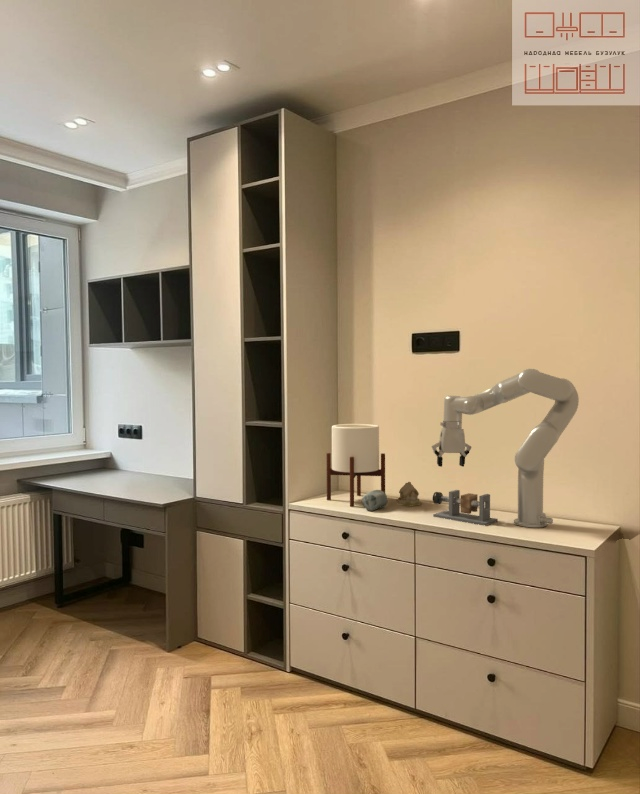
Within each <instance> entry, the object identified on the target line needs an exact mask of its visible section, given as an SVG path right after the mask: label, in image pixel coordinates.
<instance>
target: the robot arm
mask: <svg viewBox="0 0 640 794" xmlns="http://www.w3.org/2000/svg"><path fill="white" fill-rule="evenodd" d="M529 393H532V394H535V395H538V396H541V397H544V398H547V399H549V400H553V401H554V403H553V405H552V406H551V408H550V410H549V411H548V413H547V414H546V416H545V417H544V418H543V420H541V422H540V423H539V424H538V425H536V426H534V428H533V429H532V430H531V431H530V433H529V434H528V436H527V437H526V438H525V440H524V441H523V443H522V444H521V445H520V446H519V448H518V450H517V451H516V453H515V455H514V463H515V465H516V467H517V468H518V472H517V473H518V474H517V518H514V519H513V525H515V526H519V527H523V528H545V527H547V526H548V524H553V522H554V520H553V518H552V517H547V515H546V513H544V470H545V458H546V457H547V456H548V454H549V453H550V452H551V450H552V449H553V448H554V446H555V445H556V444H557V443H558V441H559V438H561V435H562V434H563V433H564V432H565V430H566V428H567V427H568V425H569V424H570V422H571V420H572V419H573V418H574V417H575V415H576V412H577V411H578V408H579V402H580V401H579V399H580V397H579V393H578V391H577V389H576V386H575V385H574V384H573V382H572V381H570V380H569V379H567V378H564V377H563V378H560V377H558V376H557V377H556V376H554V375H550V374H547V373H544V372H541V371H539V370H538V369H535V368H526V369H524V370H523V371H521V372H520V373H517V374H516V375H513V376H511V377H508V378H505V379H503V380H501V381H499V382H497V383H495V385H493V386H492V387H491V388H488V389H486V390H484V391H481V392H479V393H477V394H475V395H470V396H460V395H446V396H445V397H444V401H443V421H442V422H440V426H442V428H441V431H440V434H439V440H438V442H437V443H435V444H432V445H431V450H433V451H432V452H433V453H434V454H435V456H436V457H437V458H436V464H437V466H438V467H443V459H444V458H443V455H444V454H445V453H447V454H459V464H458V465H459V466H460V467H465V463H466V457H467V456H468V454H469V453H470V451H471V449H472V446H471V445H469V444H468V443H466V439H465V438H466V437H465V430H464V428H462V427H463V415H470V416H471V415H476V414H479V413H482V412H484V411H486V410H489V409H491V408H493V407H496V406H499V405H501V404H505V403H508V402H511V401H512V400H515V399H517V398H519V397H522V396H525V395H528V394H529ZM437 448H438V450H437Z"/></svg>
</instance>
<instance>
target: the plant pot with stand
mask: <svg viewBox="0 0 640 794" xmlns="http://www.w3.org/2000/svg"><path fill="white" fill-rule="evenodd" d="M331 476H349V507H351V508H352V507H355V478H356V496H357V497H358V496H359V497H360V496H361V495H362V488H361V487H362V485H361V484H362V479H361V477H380V490H381V491H383V492H384V493H385V494H386V453H380V426H379V425H377V424H367V423H344V424H343V423H342V424H341V423H340V424H334V425H332V426H331V452H326V500H327V501H331V500H332V499H331V498H332V477H331Z"/></svg>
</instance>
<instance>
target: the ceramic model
mask: <svg viewBox="0 0 640 794" xmlns="http://www.w3.org/2000/svg"><path fill="white" fill-rule="evenodd" d="M398 493H399V497H397V499H396V503H397V504H399V505H401V506H404V507H415V506H420V505H421V504H422V503H421V501H420V498H419V495H420V493H419V491H418V490H417V489H416V487H415V486H414V485H413V484H412V482H410V481H408V482H405V484H404V485H403V486H402V487H400V490H399V491H398Z"/></svg>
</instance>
